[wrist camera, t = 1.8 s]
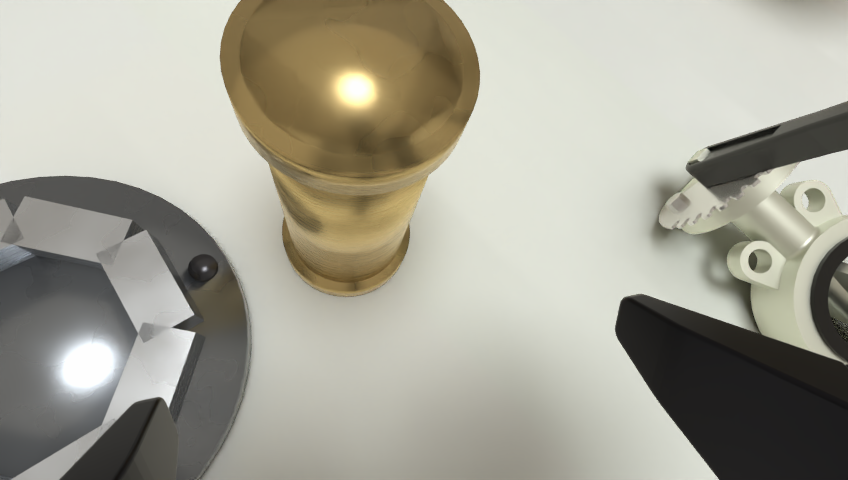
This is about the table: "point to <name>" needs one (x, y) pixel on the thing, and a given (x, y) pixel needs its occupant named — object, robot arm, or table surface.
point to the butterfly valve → (777, 226)
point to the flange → (111, 323)
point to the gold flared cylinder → (349, 121)
